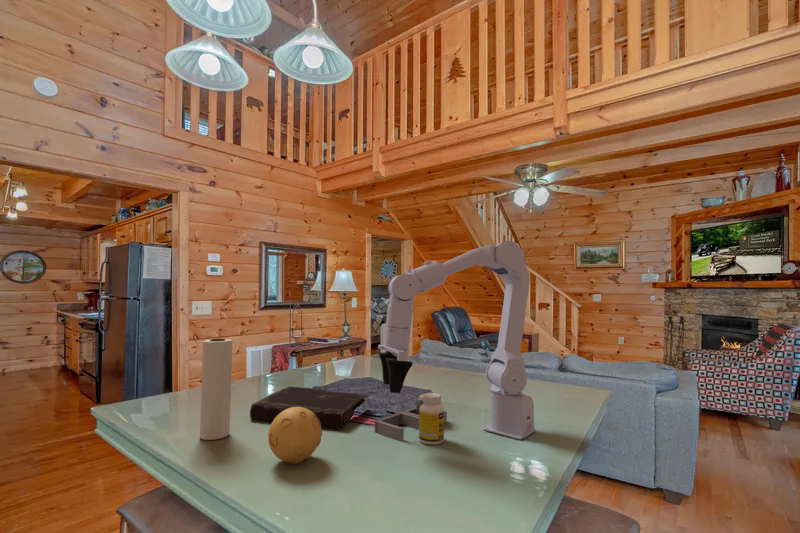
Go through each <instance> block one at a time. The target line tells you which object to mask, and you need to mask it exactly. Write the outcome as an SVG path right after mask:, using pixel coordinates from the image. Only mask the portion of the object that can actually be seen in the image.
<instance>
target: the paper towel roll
mask: <svg viewBox="0 0 800 533" xmlns="http://www.w3.org/2000/svg"><path fill="white" fill-rule="evenodd" d="M232 359H233V339H229V338H210V339H206V340H203V341H202V361H201V362H202V363H201V364H202V365H201V387H200V388H201V392H200V417H199V418H200V420H199V422H200V424H199V438H200V439H202V440H204V441H213V440H214V441H215V440H220V439H223V438H226V437H227V436H229V435H230V431H231V430H230V429H231V398H232V368H233V367H232V362H233V360H232Z"/></svg>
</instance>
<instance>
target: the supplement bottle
mask: <svg viewBox="0 0 800 533" xmlns="http://www.w3.org/2000/svg"><path fill="white" fill-rule="evenodd" d="M422 395H423V402H424V403H423V404H422V405H421V406H420V408H419V429H418V440H419V441H420V443H422V444H425V445H434V446H435V445H440V444H443V442H444V438H445V435H444V434H445V423H444V411H445V408H444V406H443V405H442V404H441V401H442V396H441V394H440V393H437V392H426V393H423V394H422Z"/></svg>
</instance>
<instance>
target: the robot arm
mask: <svg viewBox="0 0 800 533" xmlns="http://www.w3.org/2000/svg"><path fill="white" fill-rule="evenodd" d="M525 255H526V252H525V251H524V250H523V249H522V248H521V246H519V245H518V243H516V242H515V241H513V240H504V241H501V242H499V243H494V244H488V245H486V246H481V247H480V246H479V247H476V248H474V249H470V250H469V251H467V252H465V253H463V254H461V255H458V256H455V257H454V258H451V259H450V260H447V261H445V262H443V263H442V262H439V261H436V260H433V261H431V260H426V261H424V262H423V265H421V266H419V267H417V268H414V269H410V268H409V269H407V270H405V273H401V274H399V275H396V276H394V277H393V278H391V280H390V281H389V285H388V286H387V290H388V293H389V298H388V306H387V312H386V321H385V328H384V329H385V331H384V338H383V344H378V346H377V348H378V349H379V350H384V352H382V351H380V352H378V356H379V359H380V363H381V370H382V382H383V385H389V392H390V393H392V394H400V393H401V391H402V388H403V386H404V383H405V379H406V377H407V375H408V373H409V371H410V369H411V368H412V367H413V365H414V362H413V361H411V360H408V358H409V357H408V356H409V352H410V339H411V338H410V337H411V330H412V320H413V310H414V308H413V306H414V305H413V304H414V298H415V297H416V296H417V295H418V294H419V295H420V294H422V293H425V292H427V291H430V290H432V289H434V288H436V287H440V286H441V285H443V284H445V283H446V279H447V278H448V276H451V275H453V274H456V273H458V272H461V271H463V270H465V269H468V268H471V267H474V266H478V267H479V266H480V267H483V266H485V267H486V268H487V269H488V270H490V271H491V272H493V273H494V274H496V275H498V276H499V277H500V278H501V280H502V281H503V282H504V284H505V288H504V297H503V304H502V311H501V318H500V326H499V332H498V340H497V346H496V348H495V350H494V351H493V352H492V354H491V359H490V362H489V363H488V365H487V367H486V369H485V376H486V379H487V381H488V382H489V383H490V387H489V390H490V391H489V394H490V397H489V398H490V400H489V401H490V402H489V404H490V408H489V409H490V424H488V425H486V426H484V427H483V431H486V432H489V433H493V434H498V435H502V436H504V437H509V438H513V439H515V440H523V439H525V438H527V437H529V435H531V434H533V433H534V432H536V428H535V411H534V410H535V405H534V400H533V397H531V396H530V395H526V394H524V393H523V391H524V389H525V388H526V387H527V386H526V385H527V381H528V378H527V373H526V369H525V367H526V362H525V359H524V357H523V355H522V354H521V350H522V341H523V335H524V327H525V319H526V312H527V304H528V298H529V290H530V283H531V282H530V281H531V279H530V278H531V277H530V274H529V271H528V268H527V263H526V261H525V257H526V256H525Z"/></svg>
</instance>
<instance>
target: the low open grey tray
mask: <svg viewBox="0 0 800 533" xmlns="http://www.w3.org/2000/svg"><path fill="white" fill-rule="evenodd" d="M423 403H424V402H423V394H420V395H417V396H416V397H415V407H412V408H409V409H406V410H402V411H403V412H400V413H397V414H394V413H393V414H390V415H388V416H386V417H383V418H379V419H376V420H374V433H377V434H379V435H382V436H386V437H388V438H391V439H394V440H398V441H400V442H401V441H404V438H405V437H404V436H405V435H404V431H405V429H404V427H402V426H401V425H405V426H407V427H410V428H414V429H417V430H419V408H420V406H421V405H422V404H423ZM447 413H448V412H447V411H445V410H444V424H445V423H447V422H448V417H447V416H448V415H447Z"/></svg>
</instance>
